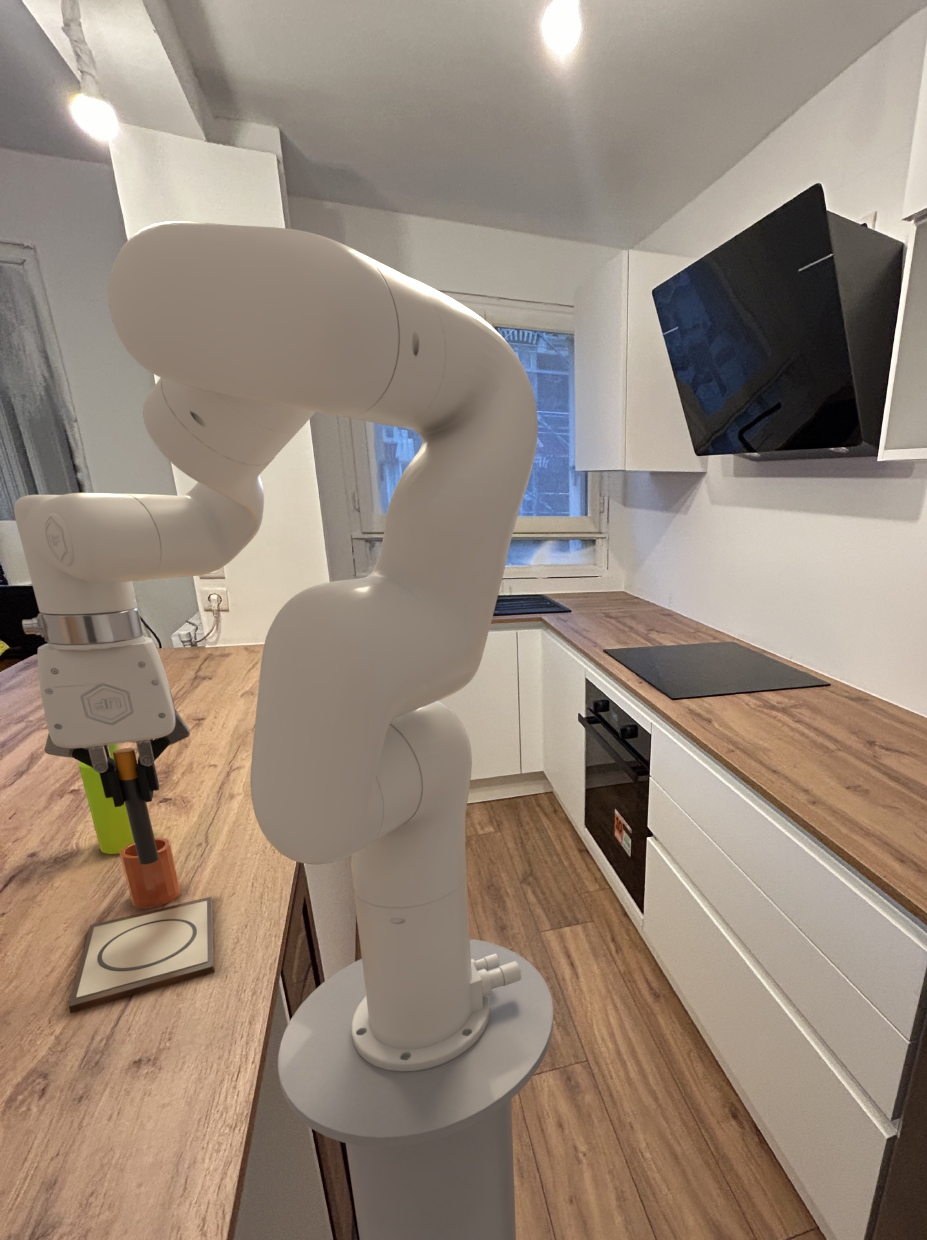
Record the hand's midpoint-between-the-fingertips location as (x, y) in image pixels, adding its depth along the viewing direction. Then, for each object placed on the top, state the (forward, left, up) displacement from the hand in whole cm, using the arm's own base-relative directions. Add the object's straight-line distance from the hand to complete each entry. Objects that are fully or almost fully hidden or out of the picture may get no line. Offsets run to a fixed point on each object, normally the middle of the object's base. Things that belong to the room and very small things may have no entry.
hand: (134, 798), depth 69 cm
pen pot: (+1, -9, -17) cm, 19 cm away
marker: (0, 0, -8) cm, 8 cm away
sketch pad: (+1, +3, -17) cm, 17 cm away
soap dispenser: (+5, -27, -17) cm, 32 cm away
